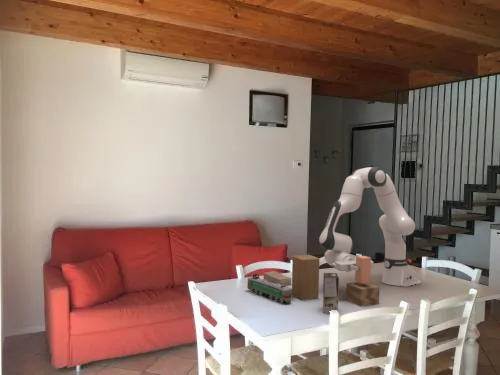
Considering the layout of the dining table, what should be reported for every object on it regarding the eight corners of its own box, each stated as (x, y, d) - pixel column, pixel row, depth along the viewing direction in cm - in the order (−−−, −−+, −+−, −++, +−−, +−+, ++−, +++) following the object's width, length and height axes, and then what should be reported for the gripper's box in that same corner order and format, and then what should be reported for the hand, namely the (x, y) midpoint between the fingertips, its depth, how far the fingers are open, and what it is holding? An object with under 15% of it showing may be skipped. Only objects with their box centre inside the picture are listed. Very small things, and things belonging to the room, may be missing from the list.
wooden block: (291, 294, 218) (292, 255, 217) (308, 292, 222) (309, 254, 221) (300, 300, 209) (301, 259, 208) (318, 298, 212) (319, 258, 212)
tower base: (364, 297, 216) (364, 281, 215) (379, 303, 206) (379, 287, 205) (346, 299, 211) (346, 283, 211) (360, 306, 201) (360, 289, 201)
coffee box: (338, 313, 190) (339, 277, 190) (323, 313, 191) (324, 277, 190) (336, 307, 199) (337, 272, 199) (322, 306, 200) (323, 272, 199)
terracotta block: (363, 280, 211) (364, 255, 211) (370, 282, 207) (371, 257, 206) (355, 280, 209) (355, 256, 209) (361, 283, 205) (362, 258, 204)
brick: (292, 285, 236) (292, 277, 236) (279, 287, 232) (279, 278, 232) (274, 278, 251) (274, 270, 250) (262, 280, 246) (262, 272, 246)
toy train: (252, 289, 227) (252, 270, 227) (294, 304, 203) (295, 283, 203) (245, 290, 224) (245, 271, 224) (287, 306, 200) (287, 284, 200)
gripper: (329, 257, 215) (346, 263, 203) (362, 255, 224) (381, 260, 211) (329, 270, 216) (346, 276, 203) (362, 267, 224) (380, 273, 211)
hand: (364, 268), depth 207 cm, fingers closed on terracotta block, 5 cm apart
